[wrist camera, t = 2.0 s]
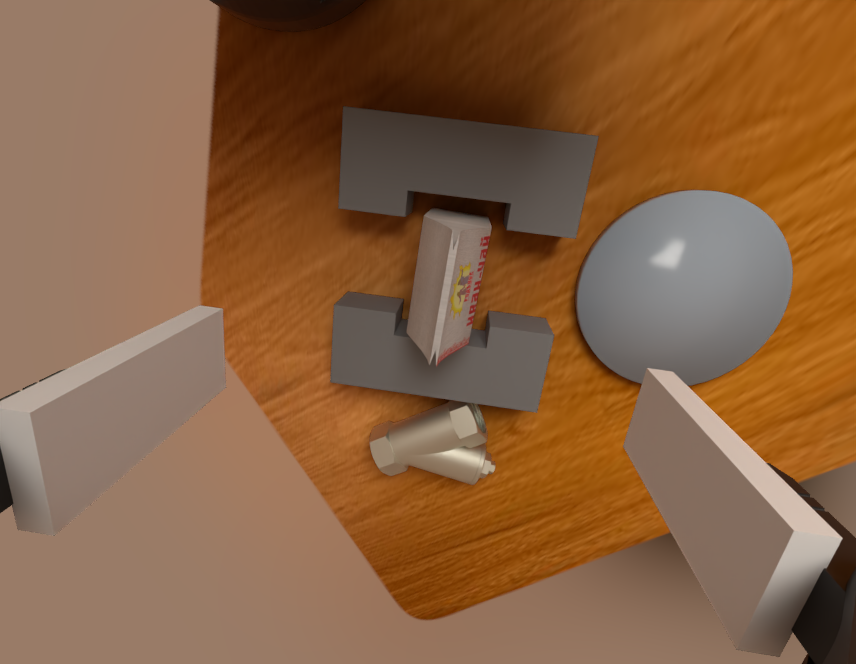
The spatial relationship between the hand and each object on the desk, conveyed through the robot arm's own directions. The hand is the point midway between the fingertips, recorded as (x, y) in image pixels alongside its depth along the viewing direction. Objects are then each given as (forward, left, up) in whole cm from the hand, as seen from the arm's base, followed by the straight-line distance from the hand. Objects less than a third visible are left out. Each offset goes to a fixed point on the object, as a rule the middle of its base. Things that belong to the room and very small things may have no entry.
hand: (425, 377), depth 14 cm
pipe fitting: (+14, +1, -19) cm, 23 cm away
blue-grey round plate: (0, +15, -18) cm, 23 cm away
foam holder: (0, 0, -18) cm, 18 cm away
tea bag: (0, 0, -18) cm, 18 cm away
